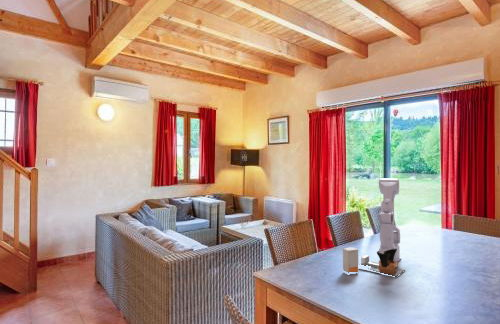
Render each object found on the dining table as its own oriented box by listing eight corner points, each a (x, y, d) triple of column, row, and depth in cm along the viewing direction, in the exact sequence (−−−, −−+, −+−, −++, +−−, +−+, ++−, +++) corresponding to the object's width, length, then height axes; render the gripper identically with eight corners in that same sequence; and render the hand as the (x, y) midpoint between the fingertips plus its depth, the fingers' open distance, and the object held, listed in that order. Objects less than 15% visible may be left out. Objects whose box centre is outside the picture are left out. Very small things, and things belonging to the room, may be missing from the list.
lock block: (379, 269, 146) (378, 260, 146) (382, 266, 149) (382, 258, 149) (394, 272, 141) (393, 263, 141) (397, 270, 144) (397, 261, 144)
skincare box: (347, 275, 141) (347, 250, 141) (342, 272, 145) (342, 248, 145) (359, 274, 143) (358, 249, 143) (353, 271, 147) (353, 246, 147)
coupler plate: (366, 262, 159) (366, 253, 159) (404, 271, 145) (404, 260, 145) (356, 268, 150) (356, 258, 150) (396, 278, 137) (395, 267, 137)
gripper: (389, 241, 137) (390, 270, 137) (400, 235, 148) (401, 262, 148) (374, 238, 142) (375, 267, 142) (385, 233, 153) (386, 259, 153)
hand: (387, 264), depth 145 cm, fingers open, 7 cm apart
